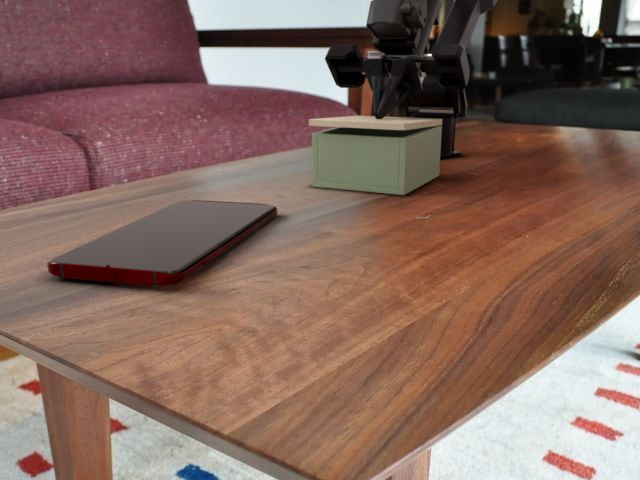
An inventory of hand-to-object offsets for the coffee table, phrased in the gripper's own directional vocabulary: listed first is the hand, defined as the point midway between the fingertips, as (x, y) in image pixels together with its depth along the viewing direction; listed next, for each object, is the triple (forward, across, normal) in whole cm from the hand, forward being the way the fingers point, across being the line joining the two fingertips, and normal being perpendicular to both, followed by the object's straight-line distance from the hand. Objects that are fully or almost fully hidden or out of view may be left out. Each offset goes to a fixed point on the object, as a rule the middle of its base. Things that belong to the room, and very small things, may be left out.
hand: (377, 116), depth 86 cm
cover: (+1, 0, +1) cm, 1 cm away
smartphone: (+30, -6, -18) cm, 36 cm away
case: (+6, 0, +6) cm, 8 cm away
